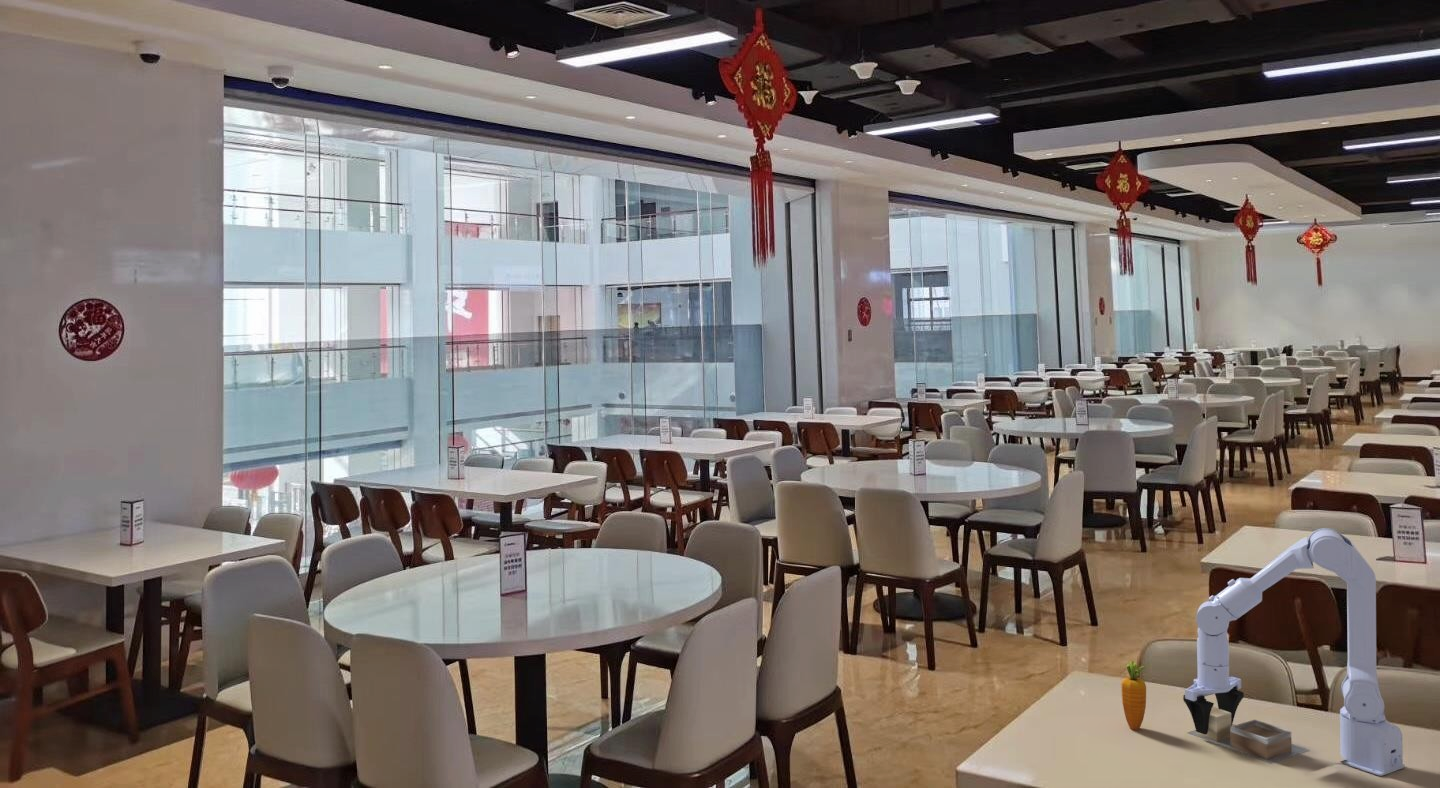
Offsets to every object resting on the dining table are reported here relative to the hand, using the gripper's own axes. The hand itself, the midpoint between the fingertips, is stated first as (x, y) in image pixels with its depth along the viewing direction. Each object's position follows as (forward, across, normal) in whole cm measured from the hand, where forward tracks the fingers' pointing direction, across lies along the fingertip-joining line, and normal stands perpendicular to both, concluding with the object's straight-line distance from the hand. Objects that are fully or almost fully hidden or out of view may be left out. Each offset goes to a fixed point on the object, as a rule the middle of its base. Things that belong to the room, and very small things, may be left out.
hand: (1213, 729), depth 200 cm
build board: (+2, -3, +5) cm, 6 cm away
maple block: (+1, 0, 0) cm, 1 cm away
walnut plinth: (+2, -2, +9) cm, 9 cm away
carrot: (+3, +10, -11) cm, 15 cm away
